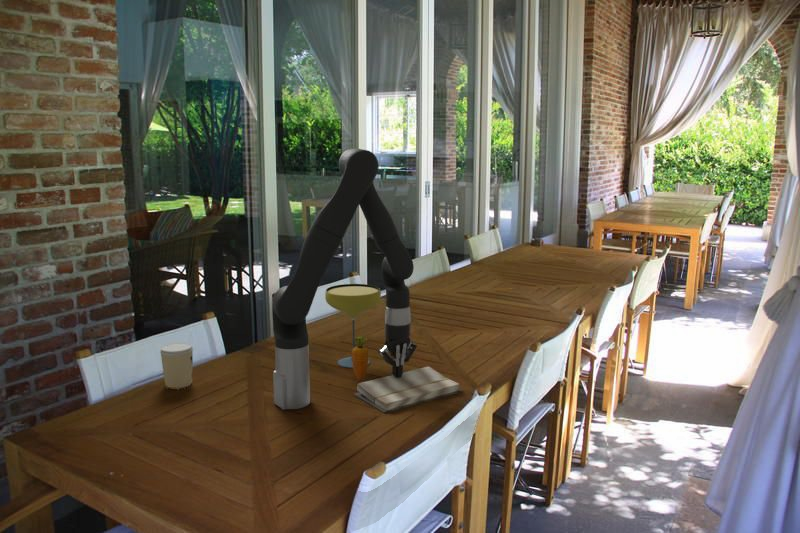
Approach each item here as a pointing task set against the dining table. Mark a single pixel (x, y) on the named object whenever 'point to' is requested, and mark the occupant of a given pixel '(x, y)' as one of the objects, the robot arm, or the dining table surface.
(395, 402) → the floor base
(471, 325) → the dining table surface
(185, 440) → the dining table surface
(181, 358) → the coffee cup
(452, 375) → the dining table surface
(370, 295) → the cocktail glass
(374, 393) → the board
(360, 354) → the carrot
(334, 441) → the dining table surface
